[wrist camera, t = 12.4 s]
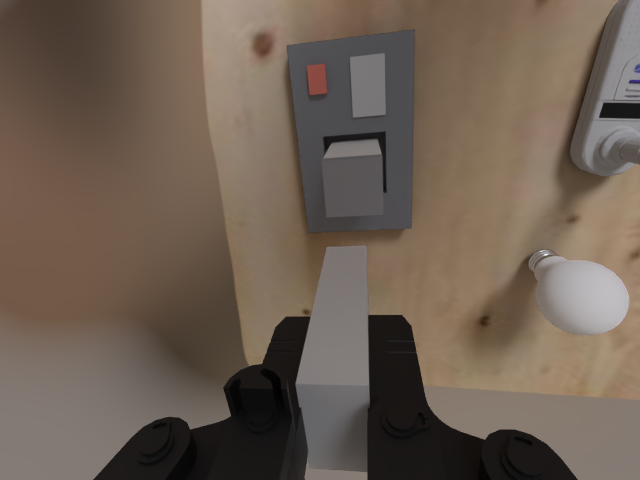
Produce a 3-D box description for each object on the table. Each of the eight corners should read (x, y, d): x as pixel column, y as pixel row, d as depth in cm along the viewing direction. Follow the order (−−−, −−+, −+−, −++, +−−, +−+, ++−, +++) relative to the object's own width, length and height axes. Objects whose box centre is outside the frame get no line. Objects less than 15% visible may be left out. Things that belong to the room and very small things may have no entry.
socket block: (290, 47, 32) (285, 44, 30) (411, 32, 30) (415, 28, 28) (310, 226, 39) (307, 234, 37) (409, 221, 37) (412, 230, 35)
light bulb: (560, 219, 35) (637, 271, 25) (581, 267, 37) (660, 333, 27) (496, 248, 37) (545, 306, 28) (519, 292, 39) (573, 362, 29)
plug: (332, 141, 34) (321, 161, 25) (377, 137, 34) (382, 156, 25) (335, 184, 36) (326, 217, 27) (378, 182, 36) (383, 214, 27)
